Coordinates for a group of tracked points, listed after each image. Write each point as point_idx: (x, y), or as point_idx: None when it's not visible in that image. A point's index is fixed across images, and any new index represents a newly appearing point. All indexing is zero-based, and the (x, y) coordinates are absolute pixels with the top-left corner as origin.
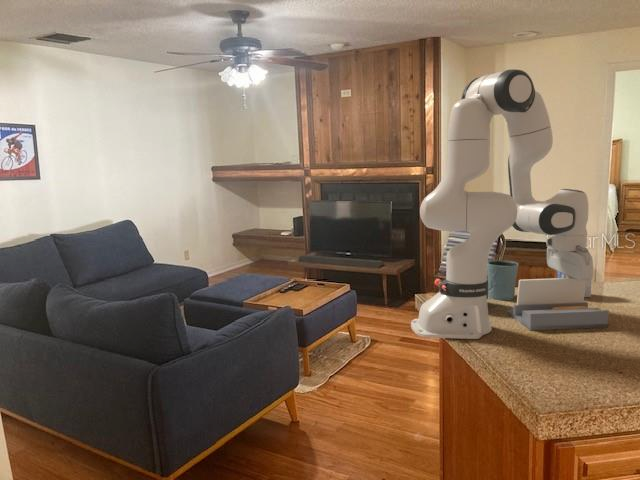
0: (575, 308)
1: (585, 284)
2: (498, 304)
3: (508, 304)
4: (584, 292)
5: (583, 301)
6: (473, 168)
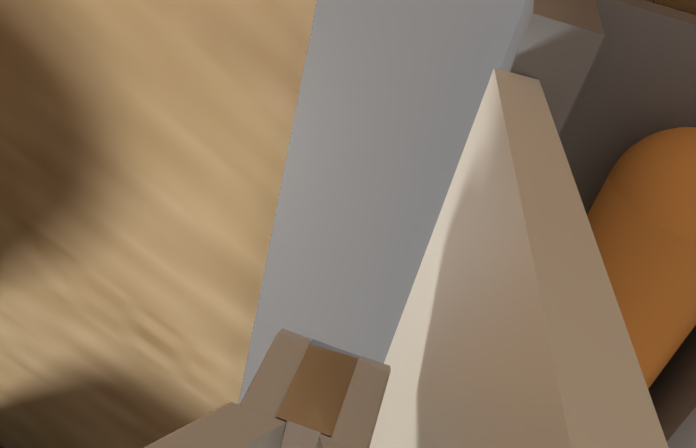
0: (662, 354)
1: (608, 310)
2: (26, 396)
3: (31, 348)
4: (565, 175)
5: (542, 89)
6: None
